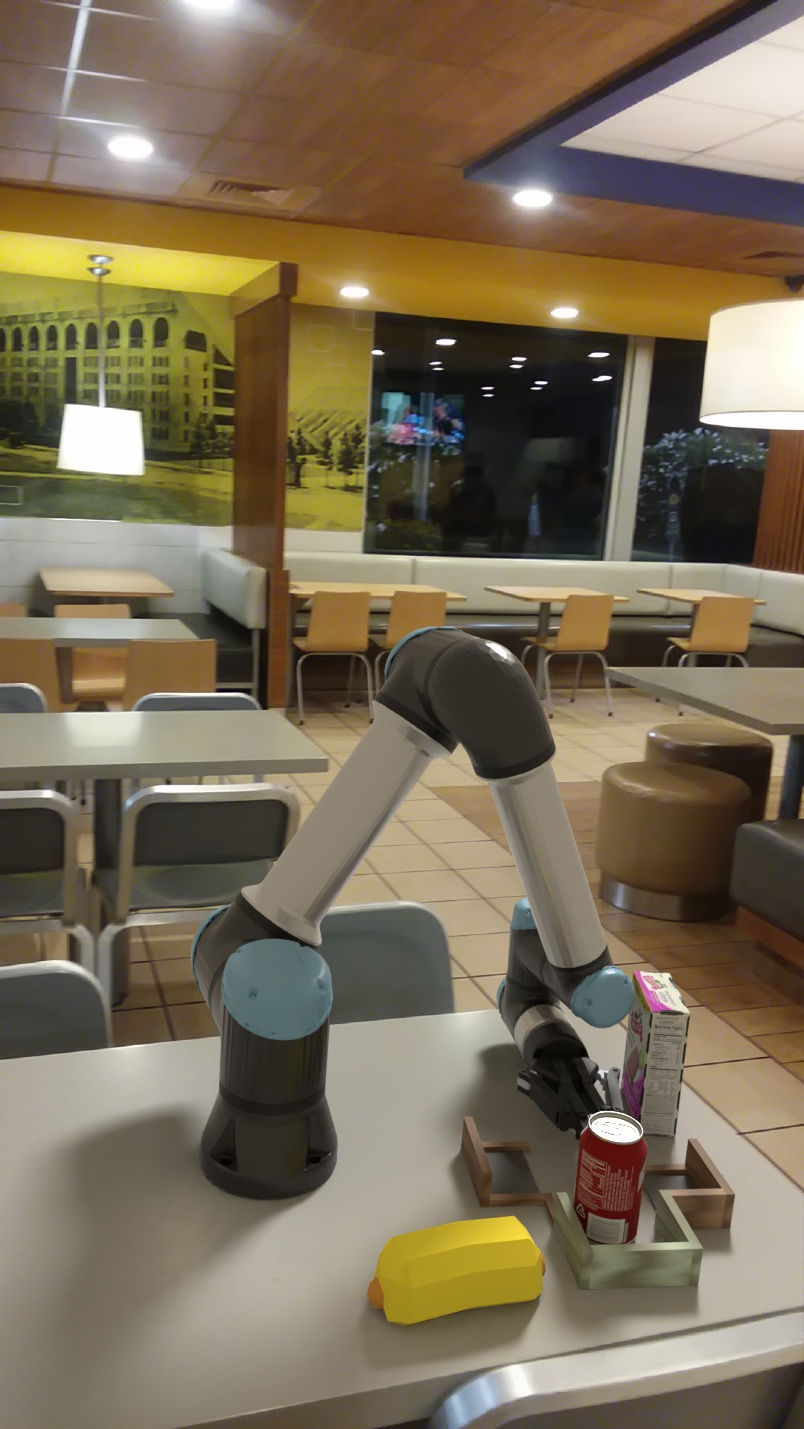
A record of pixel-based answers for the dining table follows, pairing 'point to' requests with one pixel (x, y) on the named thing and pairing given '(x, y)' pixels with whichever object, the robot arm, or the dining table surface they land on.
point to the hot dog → (456, 1269)
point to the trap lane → (680, 1206)
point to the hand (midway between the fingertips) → (614, 1160)
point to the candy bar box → (655, 1053)
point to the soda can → (610, 1178)
